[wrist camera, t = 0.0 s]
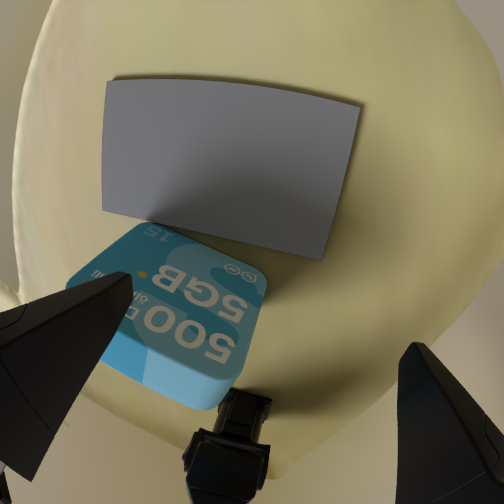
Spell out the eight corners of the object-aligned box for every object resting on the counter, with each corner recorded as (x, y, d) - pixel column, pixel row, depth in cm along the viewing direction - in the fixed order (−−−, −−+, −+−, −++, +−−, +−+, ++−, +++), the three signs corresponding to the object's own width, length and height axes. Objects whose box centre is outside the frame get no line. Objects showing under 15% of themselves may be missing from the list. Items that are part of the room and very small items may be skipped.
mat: (320, 257, 23) (321, 260, 23) (106, 208, 25) (102, 210, 25) (358, 107, 17) (360, 107, 17) (111, 81, 19) (107, 81, 19)
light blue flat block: (270, 273, 25) (237, 387, 14) (251, 310, 27) (215, 419, 16) (146, 216, 25) (54, 289, 14) (138, 256, 27) (60, 335, 16)
